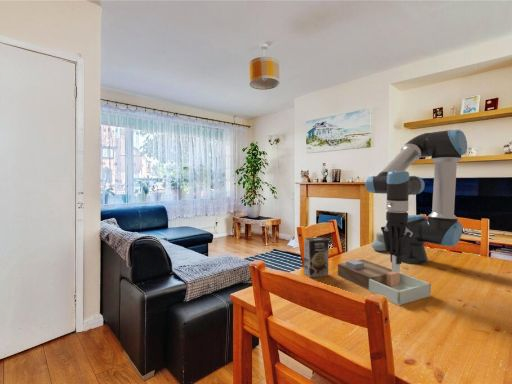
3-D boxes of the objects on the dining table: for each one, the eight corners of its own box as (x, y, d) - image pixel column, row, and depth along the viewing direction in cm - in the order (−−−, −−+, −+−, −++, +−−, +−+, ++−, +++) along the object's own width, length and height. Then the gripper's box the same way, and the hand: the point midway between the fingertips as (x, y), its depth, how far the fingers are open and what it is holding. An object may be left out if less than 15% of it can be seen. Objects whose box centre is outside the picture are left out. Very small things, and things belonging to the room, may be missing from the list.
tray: (398, 283, 111) (399, 272, 110) (430, 296, 99) (430, 283, 99) (368, 290, 104) (368, 279, 104) (398, 305, 92) (399, 292, 92)
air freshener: (378, 247, 166) (379, 231, 166) (392, 250, 160) (393, 233, 159) (369, 250, 159) (370, 233, 159) (384, 253, 153) (384, 236, 152)
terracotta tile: (395, 271, 109) (399, 272, 107) (395, 283, 109) (399, 285, 108) (386, 273, 107) (390, 274, 105) (386, 285, 107) (390, 287, 106)
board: (363, 270, 127) (363, 259, 127) (397, 283, 110) (397, 271, 110) (337, 275, 121) (337, 264, 120) (370, 290, 104) (370, 277, 104)
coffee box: (310, 278, 118) (310, 241, 117) (303, 272, 124) (303, 237, 123) (328, 275, 120) (329, 239, 119) (321, 270, 126) (321, 236, 125)
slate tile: (354, 264, 120) (355, 259, 120) (363, 267, 115) (363, 263, 115) (346, 265, 118) (346, 261, 118) (354, 269, 113) (354, 264, 113)
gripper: (376, 210, 109) (375, 267, 111) (405, 214, 97) (404, 278, 99) (389, 209, 112) (388, 265, 114) (419, 212, 101) (418, 275, 102)
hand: (395, 271), depth 106 cm, fingers closed
